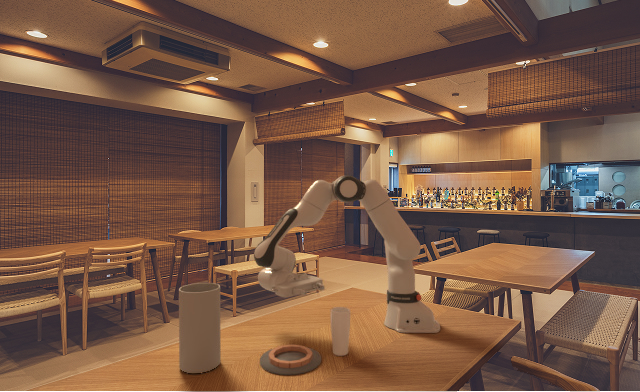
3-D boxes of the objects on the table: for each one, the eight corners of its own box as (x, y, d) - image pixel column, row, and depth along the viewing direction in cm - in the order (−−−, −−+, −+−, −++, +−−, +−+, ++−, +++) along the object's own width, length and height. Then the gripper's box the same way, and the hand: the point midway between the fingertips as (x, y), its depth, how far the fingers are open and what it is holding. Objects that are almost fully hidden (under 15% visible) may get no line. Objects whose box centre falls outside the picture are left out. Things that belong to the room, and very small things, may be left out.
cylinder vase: (182, 378, 110) (181, 294, 110) (177, 362, 121) (176, 285, 121) (224, 369, 116) (224, 289, 116) (216, 354, 127) (215, 281, 127)
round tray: (326, 350, 129) (326, 344, 129) (312, 378, 110) (312, 370, 110) (272, 345, 134) (272, 339, 134) (249, 371, 115) (249, 363, 114)
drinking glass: (349, 358, 123) (348, 313, 123) (329, 356, 125) (328, 312, 125) (351, 349, 130) (351, 307, 130) (332, 348, 131) (332, 306, 131)
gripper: (268, 280, 137) (293, 286, 128) (307, 272, 152) (332, 277, 143) (268, 297, 137) (293, 305, 128) (307, 287, 152) (332, 293, 143)
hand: (314, 290), depth 135 cm, fingers open, 8 cm apart
